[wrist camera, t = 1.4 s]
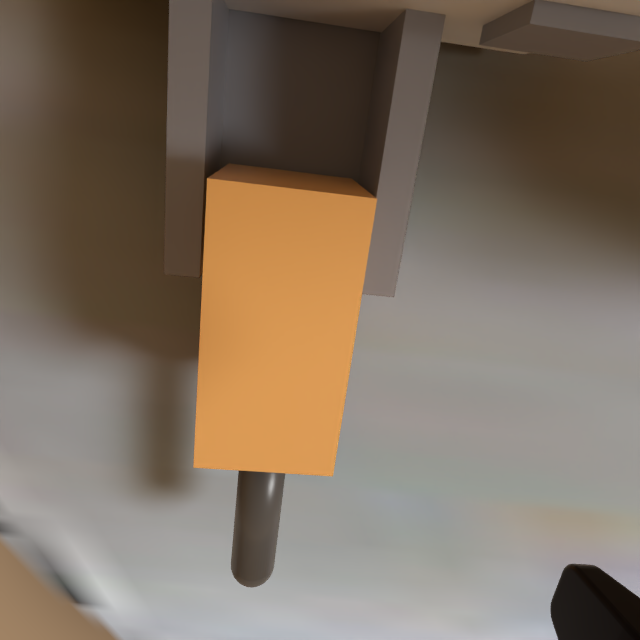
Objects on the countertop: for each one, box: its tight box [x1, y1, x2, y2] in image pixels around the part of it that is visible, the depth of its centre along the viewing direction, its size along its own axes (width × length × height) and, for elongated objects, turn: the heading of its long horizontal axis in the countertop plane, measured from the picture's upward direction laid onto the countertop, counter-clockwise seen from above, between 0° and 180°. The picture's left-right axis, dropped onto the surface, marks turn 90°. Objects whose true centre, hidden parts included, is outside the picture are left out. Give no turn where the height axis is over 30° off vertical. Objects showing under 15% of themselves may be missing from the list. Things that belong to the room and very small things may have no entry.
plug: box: [194, 163, 377, 587], centre depth 17 cm, size 15×4×5 cm, turn 173°
